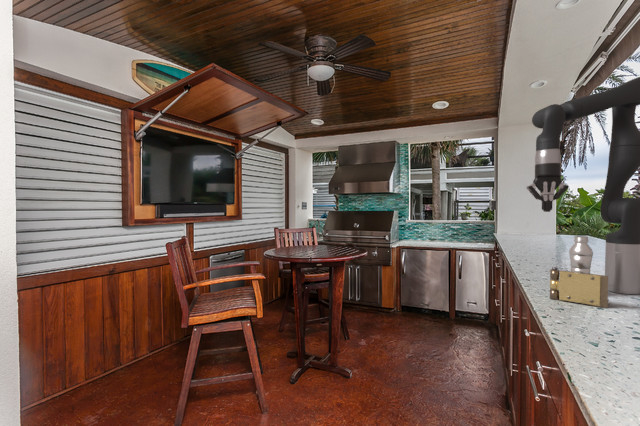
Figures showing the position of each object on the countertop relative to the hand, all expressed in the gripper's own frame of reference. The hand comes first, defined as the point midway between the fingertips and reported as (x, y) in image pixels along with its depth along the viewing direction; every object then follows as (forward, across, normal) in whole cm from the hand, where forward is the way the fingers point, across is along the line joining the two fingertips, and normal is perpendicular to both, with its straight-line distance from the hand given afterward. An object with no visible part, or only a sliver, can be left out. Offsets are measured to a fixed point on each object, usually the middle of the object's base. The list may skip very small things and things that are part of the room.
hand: (546, 211), depth 117 cm
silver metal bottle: (+28, -9, +4) cm, 30 cm away
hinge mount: (+28, -5, +13) cm, 31 cm away
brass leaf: (+28, -2, +15) cm, 32 cm away
